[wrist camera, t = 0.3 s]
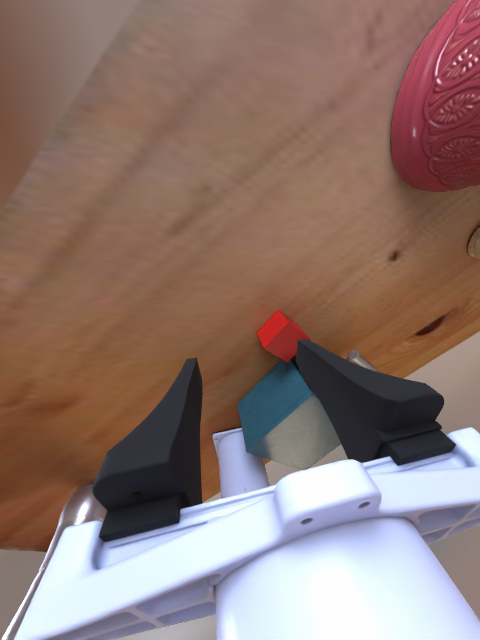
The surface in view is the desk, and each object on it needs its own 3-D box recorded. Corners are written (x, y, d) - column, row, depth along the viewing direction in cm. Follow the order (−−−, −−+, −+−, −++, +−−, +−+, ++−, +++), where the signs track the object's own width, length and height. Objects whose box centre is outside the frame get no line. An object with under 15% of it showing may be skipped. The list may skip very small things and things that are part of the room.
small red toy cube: (277, 309, 24) (288, 322, 21) (298, 325, 25) (311, 339, 22) (256, 333, 25) (263, 348, 22) (277, 347, 26) (287, 363, 23)
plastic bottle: (75, 476, 31) (-92, 807, 14) (121, 478, 33) (28, 764, 16) (71, 497, 33) (-75, 802, 16) (114, 497, 36) (28, 765, 18)
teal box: (286, 354, 27) (311, 394, 21) (333, 385, 32) (365, 425, 25) (237, 403, 30) (246, 452, 24) (287, 425, 35) (305, 470, 28)
